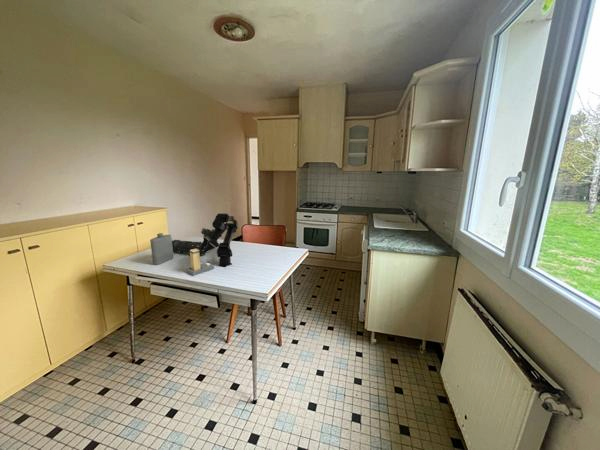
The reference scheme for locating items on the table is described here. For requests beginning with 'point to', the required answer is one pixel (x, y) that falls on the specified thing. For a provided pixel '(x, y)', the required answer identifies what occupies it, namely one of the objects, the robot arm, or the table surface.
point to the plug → (195, 259)
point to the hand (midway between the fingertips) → (201, 250)
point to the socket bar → (204, 268)
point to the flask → (161, 248)
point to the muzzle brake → (186, 246)
